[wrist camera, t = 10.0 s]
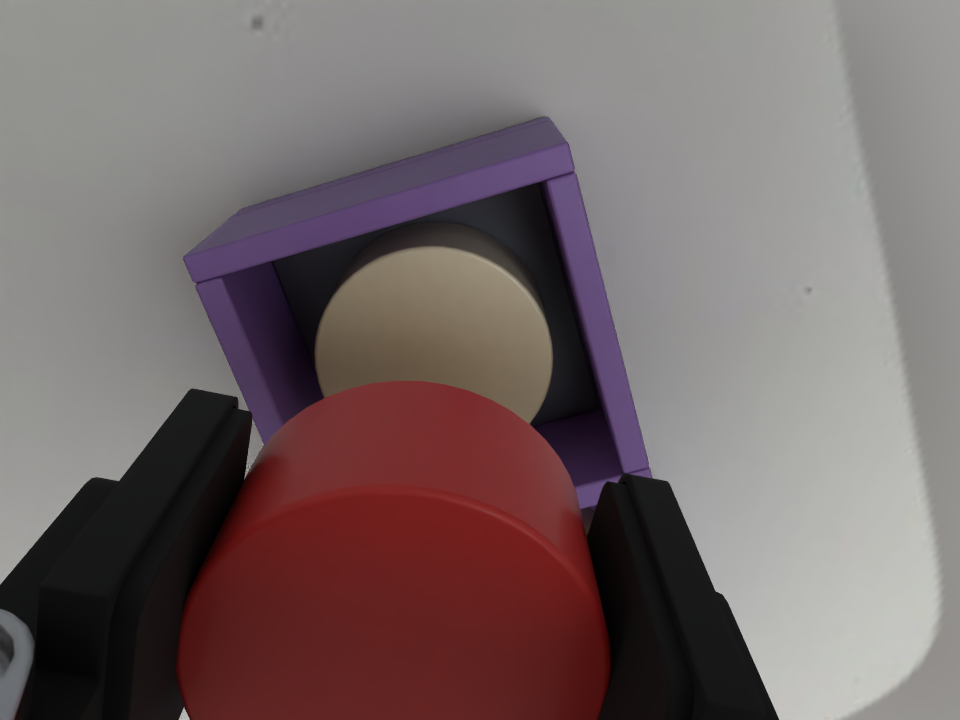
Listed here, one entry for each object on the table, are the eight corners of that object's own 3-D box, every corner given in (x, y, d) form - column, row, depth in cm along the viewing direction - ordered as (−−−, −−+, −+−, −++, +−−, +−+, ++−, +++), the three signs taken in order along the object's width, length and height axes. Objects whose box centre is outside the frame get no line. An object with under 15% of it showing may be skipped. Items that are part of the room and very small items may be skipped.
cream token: (349, 199, 17) (333, 222, 15) (569, 247, 17) (580, 275, 15) (315, 400, 18) (298, 444, 16) (517, 441, 19) (522, 488, 17)
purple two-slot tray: (239, 209, 18) (180, 257, 14) (548, 115, 17) (568, 141, 13) (427, 675, 22) (418, 799, 19) (677, 615, 22) (716, 732, 18)
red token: (262, 343, 10) (195, 446, 8) (623, 417, 10) (668, 536, 8) (220, 642, 12) (154, 804, 9) (535, 695, 12) (552, 866, 10)
